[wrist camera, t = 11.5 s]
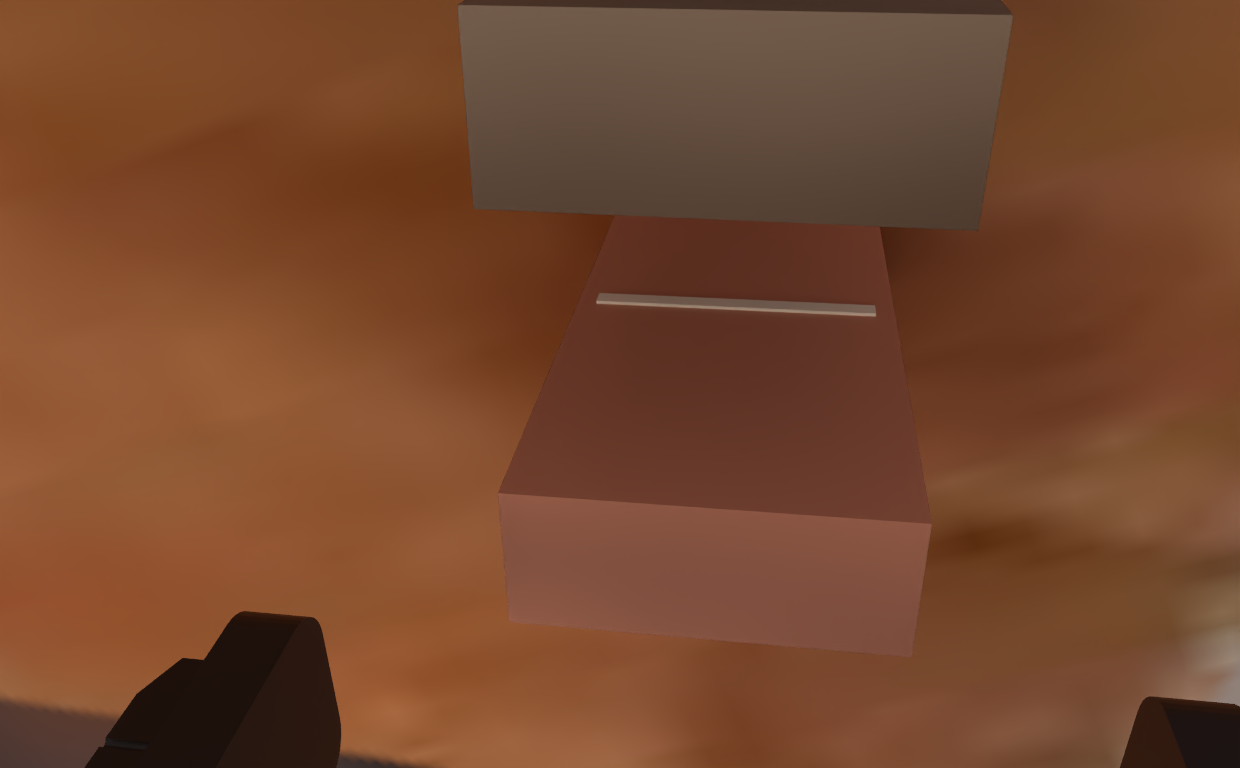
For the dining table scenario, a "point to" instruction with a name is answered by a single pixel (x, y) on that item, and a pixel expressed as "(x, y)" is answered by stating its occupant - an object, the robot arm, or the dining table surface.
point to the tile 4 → (735, 108)
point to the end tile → (724, 445)
